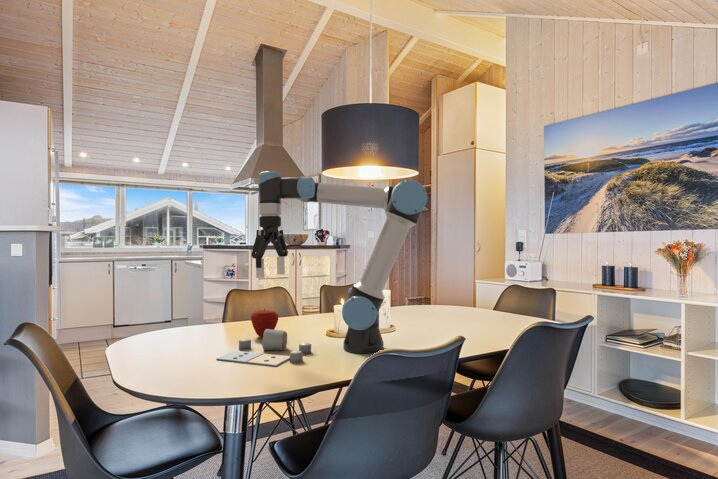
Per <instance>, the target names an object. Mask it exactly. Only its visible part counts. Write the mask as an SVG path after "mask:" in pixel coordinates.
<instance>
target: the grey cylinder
mask: <svg viewBox="0 0 718 479" xmlns="http://www.w3.org/2000/svg"><path fill="white" fill-rule="evenodd" d="M287 345H288V333H287V331H286V330H282V329H281V330H280V329H274V330H271V329H265V331H264V335H263V338H262V349H263V351H284V350H286V348H287Z"/></svg>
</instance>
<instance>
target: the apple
mask: <svg viewBox="0 0 718 479" xmlns="http://www.w3.org/2000/svg"><path fill="white" fill-rule="evenodd" d="M250 321H251V324H252V327H253V329H254V331H255V334H256V335H257V336H258V337H260V338H262V339H263V335H264V331H265V329H271V330H276V328H277V324H278V321H279V314H278V313H277V312H276V311H274V310H270V309H269V310H268V309H266V308H264V309H263V310H256V311H254V312H252V314H251V315H250Z"/></svg>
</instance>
